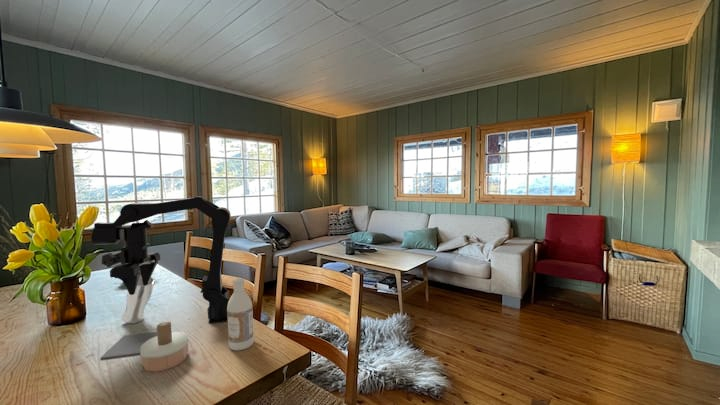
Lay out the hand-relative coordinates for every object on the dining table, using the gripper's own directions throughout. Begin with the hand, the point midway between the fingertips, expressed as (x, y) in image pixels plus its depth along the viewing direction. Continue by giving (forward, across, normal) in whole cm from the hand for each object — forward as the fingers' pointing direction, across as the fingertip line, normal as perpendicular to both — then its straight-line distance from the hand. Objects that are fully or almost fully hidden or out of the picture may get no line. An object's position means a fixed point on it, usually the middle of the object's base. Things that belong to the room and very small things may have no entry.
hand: (139, 289), depth 96 cm
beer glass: (+13, -9, -7) cm, 17 cm away
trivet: (+14, +9, +2) cm, 17 cm away
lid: (+10, +20, +15) cm, 26 cm away
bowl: (+14, +20, +15) cm, 28 cm away
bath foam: (+14, +16, +34) cm, 40 cm away
